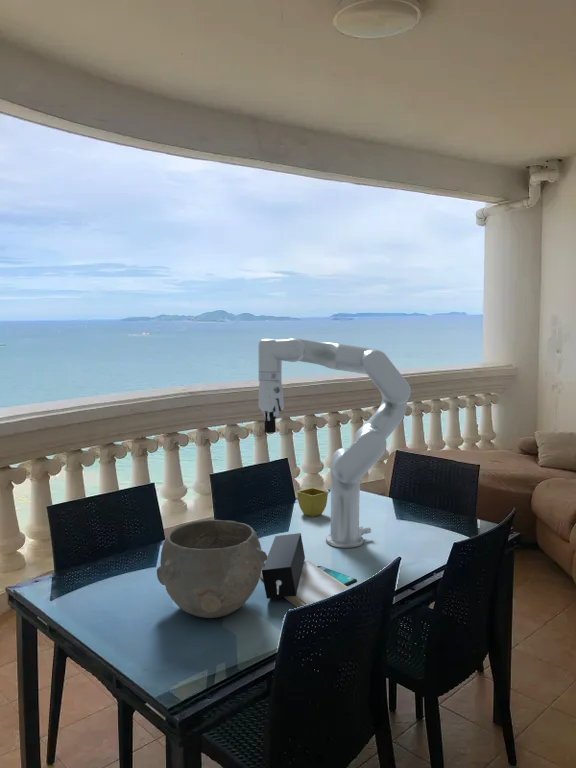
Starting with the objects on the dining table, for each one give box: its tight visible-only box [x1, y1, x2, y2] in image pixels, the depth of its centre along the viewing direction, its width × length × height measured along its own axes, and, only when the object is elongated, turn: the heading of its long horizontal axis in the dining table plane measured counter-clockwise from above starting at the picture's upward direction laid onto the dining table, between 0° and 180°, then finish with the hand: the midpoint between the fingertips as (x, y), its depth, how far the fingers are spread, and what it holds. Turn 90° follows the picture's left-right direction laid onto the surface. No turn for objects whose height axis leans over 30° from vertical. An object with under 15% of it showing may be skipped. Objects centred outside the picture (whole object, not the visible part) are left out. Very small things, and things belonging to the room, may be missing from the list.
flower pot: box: [296, 487, 329, 518], centre depth 236 cm, size 9×9×9 cm
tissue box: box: [262, 532, 306, 600], centre depth 170 cm, size 8×8×28 cm
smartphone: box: [317, 565, 358, 587], centre depth 177 cm, size 7×1×15 cm
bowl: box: [156, 519, 268, 619], centre depth 156 cm, size 27×29×20 cm
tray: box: [260, 560, 350, 608], centre depth 168 cm, size 16×28×2 cm, turn 29°
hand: (270, 432), depth 202 cm, fingers closed
